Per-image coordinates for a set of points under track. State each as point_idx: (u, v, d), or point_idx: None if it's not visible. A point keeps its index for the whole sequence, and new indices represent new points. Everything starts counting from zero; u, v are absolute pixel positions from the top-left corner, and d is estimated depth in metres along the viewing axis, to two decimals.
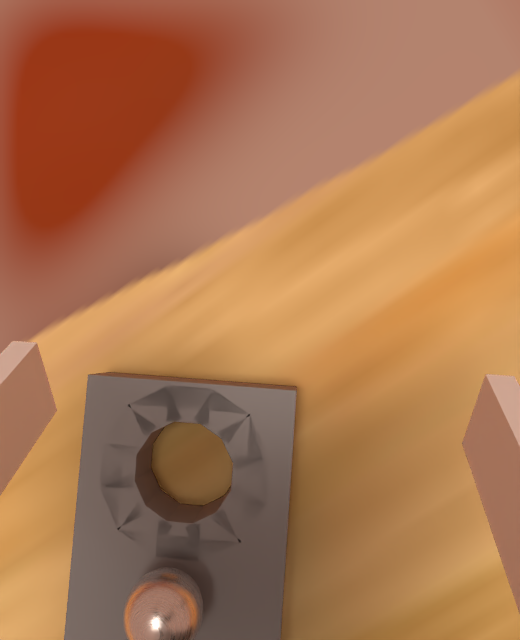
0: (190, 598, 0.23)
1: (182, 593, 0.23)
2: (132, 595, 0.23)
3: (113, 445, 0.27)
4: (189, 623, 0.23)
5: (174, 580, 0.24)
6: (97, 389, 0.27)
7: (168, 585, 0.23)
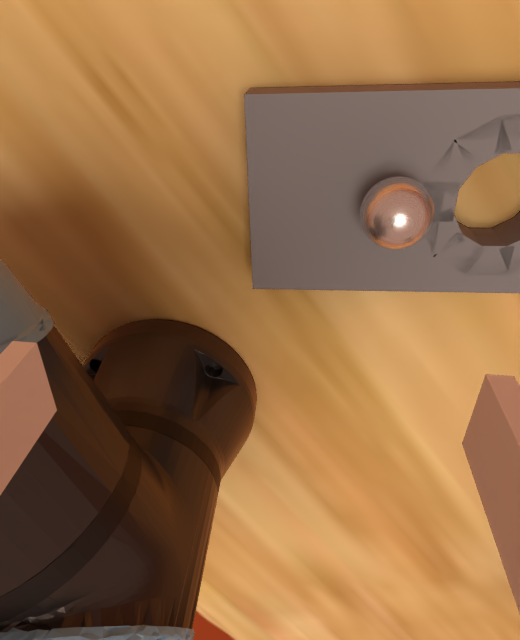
0: (416, 242, 0.27)
1: (422, 237, 0.26)
2: (422, 192, 0.25)
3: None
4: (400, 248, 0.26)
5: (430, 226, 0.26)
6: None
7: (430, 225, 0.26)
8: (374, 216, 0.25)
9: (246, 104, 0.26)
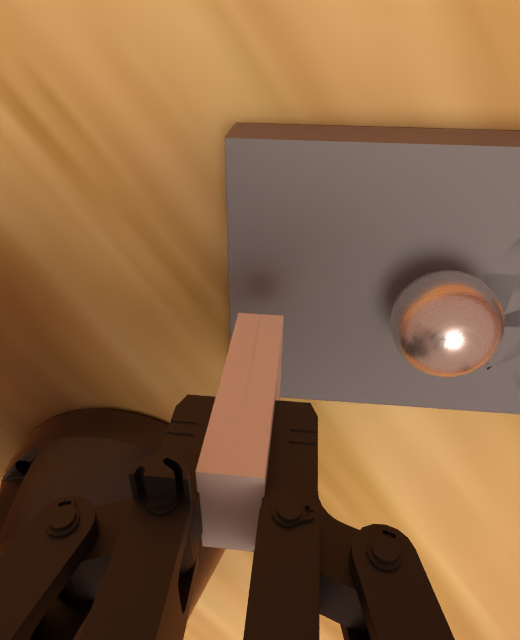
0: None
1: None
2: (492, 303, 0.16)
3: None
4: None
5: None
6: None
7: (498, 347, 0.17)
8: (417, 335, 0.17)
9: (227, 152, 0.17)
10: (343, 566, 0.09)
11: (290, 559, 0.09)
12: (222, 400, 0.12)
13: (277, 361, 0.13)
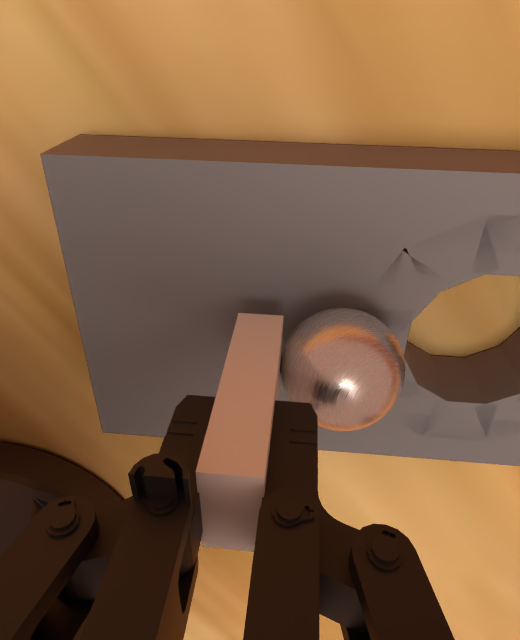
0: None
1: None
2: (391, 336, 0.15)
3: None
4: None
5: None
6: None
7: None
8: (336, 399, 0.14)
9: (47, 170, 0.15)
10: (343, 566, 0.09)
11: (290, 559, 0.09)
12: (222, 400, 0.12)
13: (277, 361, 0.13)
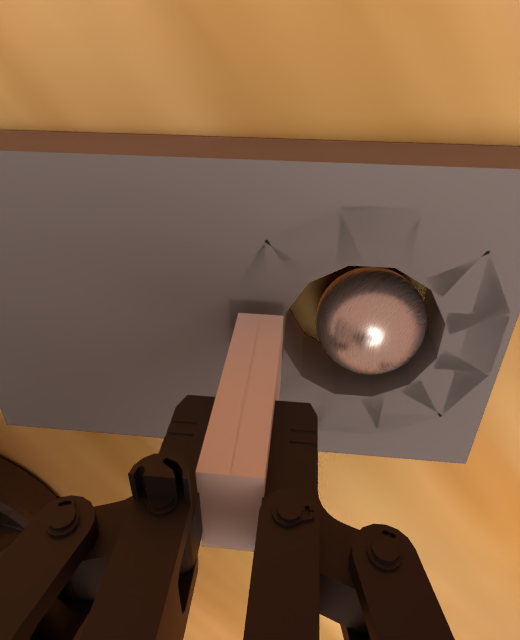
0: None
1: None
2: (336, 287, 0.17)
3: (415, 227, 0.15)
4: None
5: (324, 344, 0.17)
6: None
7: (319, 335, 0.17)
8: None
9: None
10: (343, 566, 0.09)
11: (289, 559, 0.09)
12: (222, 400, 0.12)
13: (277, 361, 0.13)
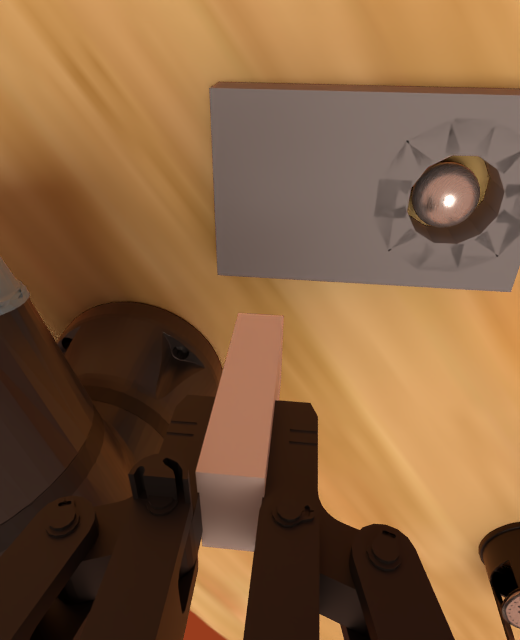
0: None
1: None
2: (426, 170, 0.30)
3: (492, 131, 0.27)
4: None
5: (413, 204, 0.30)
6: None
7: (412, 199, 0.30)
8: None
9: (211, 97, 0.27)
10: (343, 566, 0.09)
11: (289, 559, 0.09)
12: (222, 400, 0.12)
13: (277, 361, 0.13)
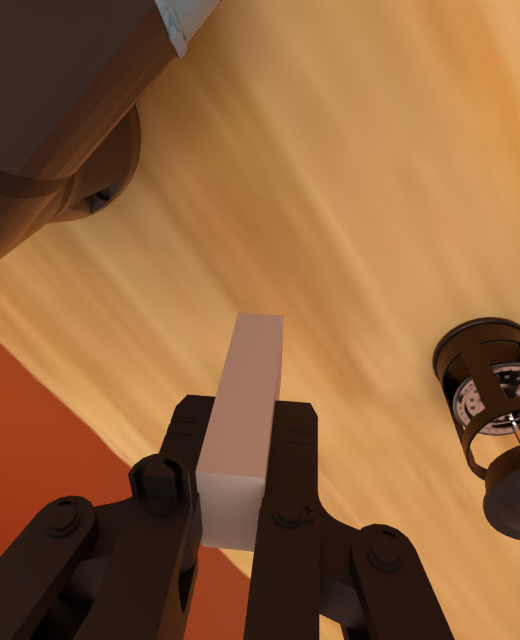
0: None
1: None
2: None
3: None
4: None
5: None
6: None
7: None
8: None
9: None
10: (343, 566, 0.09)
11: (289, 559, 0.09)
12: (222, 400, 0.12)
13: (277, 361, 0.13)
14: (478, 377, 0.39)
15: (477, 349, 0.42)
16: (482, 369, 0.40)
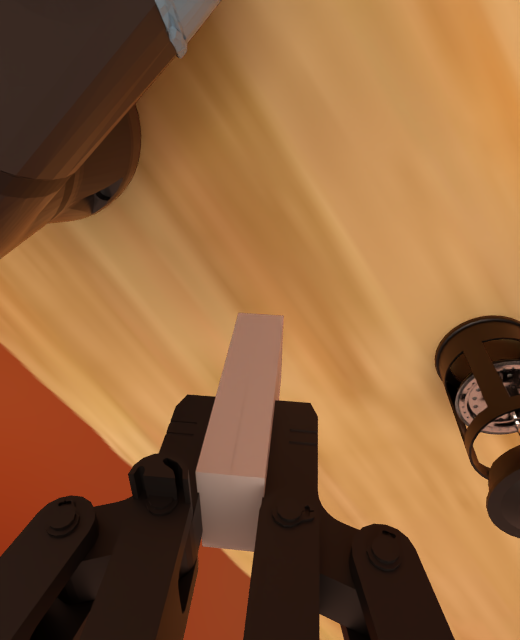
0: None
1: None
2: None
3: None
4: None
5: None
6: None
7: None
8: None
9: None
10: (343, 566, 0.09)
11: (290, 559, 0.09)
12: (222, 400, 0.12)
13: (277, 361, 0.13)
14: (481, 375, 0.39)
15: (479, 347, 0.41)
16: (484, 368, 0.39)
